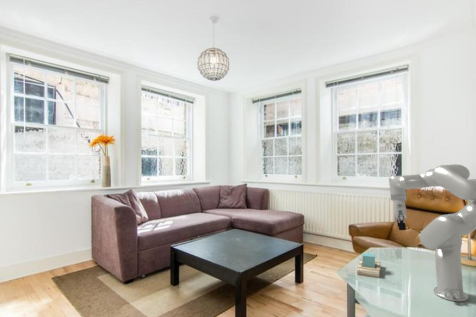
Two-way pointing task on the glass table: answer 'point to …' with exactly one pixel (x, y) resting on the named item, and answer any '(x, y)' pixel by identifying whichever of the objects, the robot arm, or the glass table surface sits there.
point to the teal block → (369, 260)
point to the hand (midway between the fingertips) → (401, 228)
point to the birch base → (369, 269)
